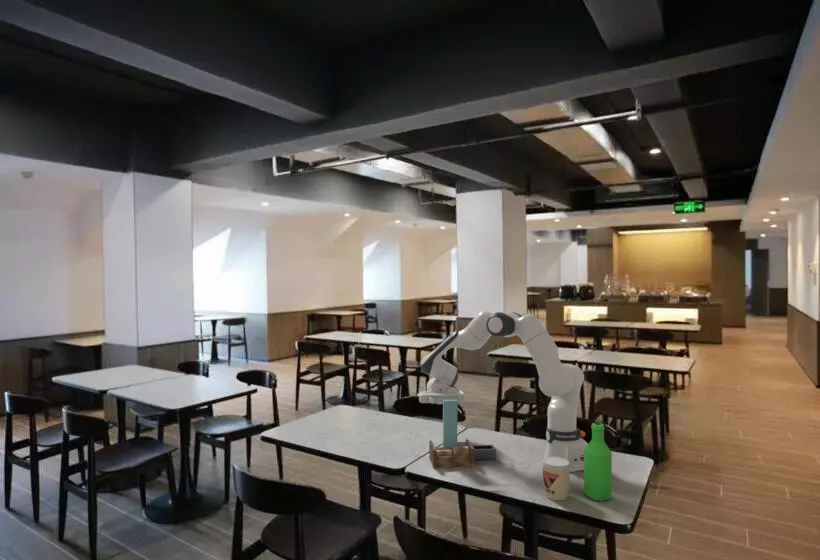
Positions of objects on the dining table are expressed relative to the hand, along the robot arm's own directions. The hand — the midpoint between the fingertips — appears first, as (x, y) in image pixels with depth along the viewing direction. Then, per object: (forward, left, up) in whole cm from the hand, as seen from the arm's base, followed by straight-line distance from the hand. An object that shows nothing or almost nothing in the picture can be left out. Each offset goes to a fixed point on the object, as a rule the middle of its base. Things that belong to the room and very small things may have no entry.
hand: (444, 401), depth 209 cm
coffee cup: (-31, +44, -22) cm, 58 cm away
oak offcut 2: (-3, +17, -20) cm, 27 cm away
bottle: (-45, +46, -22) cm, 68 cm away
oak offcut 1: (+3, +17, -20) cm, 26 cm away
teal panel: (0, +12, -20) cm, 24 cm away
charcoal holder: (-14, +12, -22) cm, 28 cm away
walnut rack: (0, +15, -22) cm, 26 cm away
